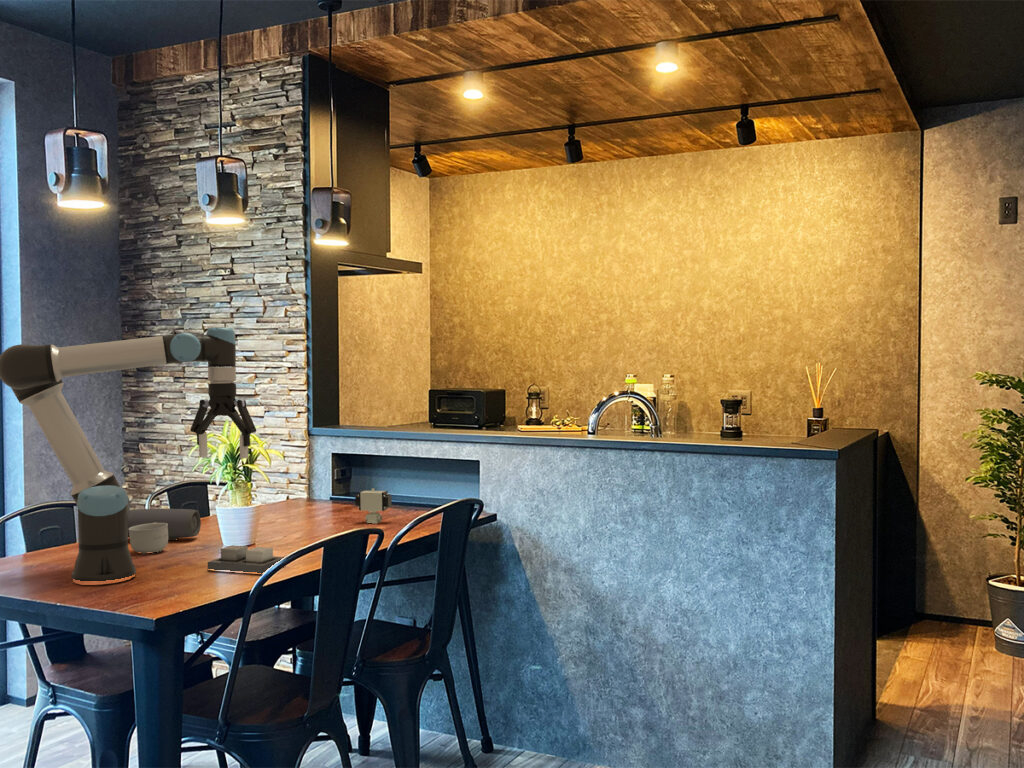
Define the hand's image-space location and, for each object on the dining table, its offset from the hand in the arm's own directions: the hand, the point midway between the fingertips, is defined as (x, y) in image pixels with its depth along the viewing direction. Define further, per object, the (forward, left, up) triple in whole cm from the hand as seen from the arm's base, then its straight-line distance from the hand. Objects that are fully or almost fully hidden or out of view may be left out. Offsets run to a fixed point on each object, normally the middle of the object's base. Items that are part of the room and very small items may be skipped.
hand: (223, 457), depth 260 cm
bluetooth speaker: (+18, +37, -29) cm, 50 cm away
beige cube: (-9, -17, -28) cm, 34 cm away
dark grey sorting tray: (-9, -13, -29) cm, 33 cm away
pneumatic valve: (+64, -14, -29) cm, 72 cm away
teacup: (+3, +28, -29) cm, 40 cm away
